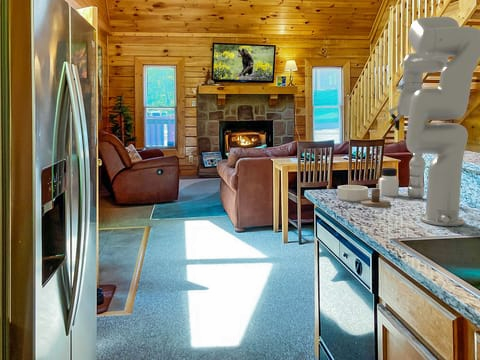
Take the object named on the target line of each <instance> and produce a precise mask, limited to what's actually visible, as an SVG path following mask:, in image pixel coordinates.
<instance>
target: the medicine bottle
mask: <svg viewBox="0 0 480 360" xmlns="http://www.w3.org/2000/svg"><path fill="white" fill-rule="evenodd" d="M397 171H398V170H397V168H395V167H382V170H381V177H379V180H378V189H380V196H385V197H386V196H388V197H389V196H391V197H394V196H395V197H399V189H400V180H399V179H397V177H398V176H397V174H398V172H397Z"/></svg>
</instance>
